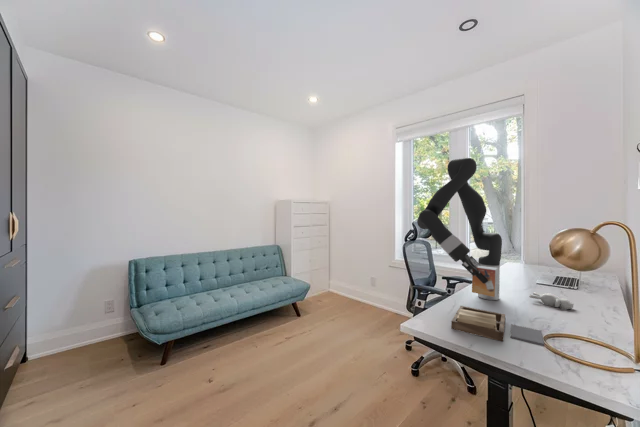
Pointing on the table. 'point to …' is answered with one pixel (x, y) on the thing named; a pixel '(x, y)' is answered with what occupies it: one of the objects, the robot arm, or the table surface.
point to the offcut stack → (477, 318)
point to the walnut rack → (480, 330)
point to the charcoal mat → (527, 334)
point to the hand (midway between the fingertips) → (487, 280)
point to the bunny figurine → (553, 300)
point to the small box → (488, 287)
